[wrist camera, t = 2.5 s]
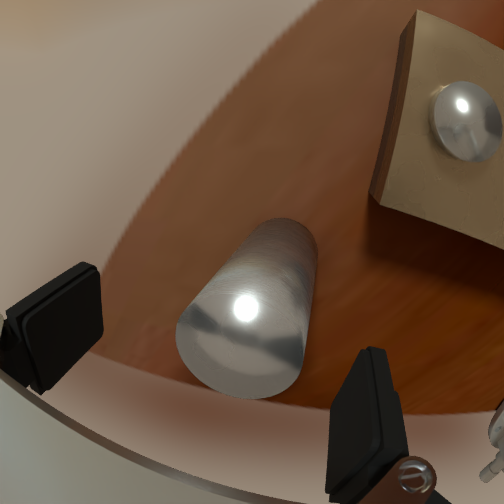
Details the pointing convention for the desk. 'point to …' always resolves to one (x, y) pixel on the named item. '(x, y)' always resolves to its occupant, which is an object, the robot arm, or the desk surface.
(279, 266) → the steel pin
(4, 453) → the robot arm
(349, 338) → the desk surface
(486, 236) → the square hole plate
